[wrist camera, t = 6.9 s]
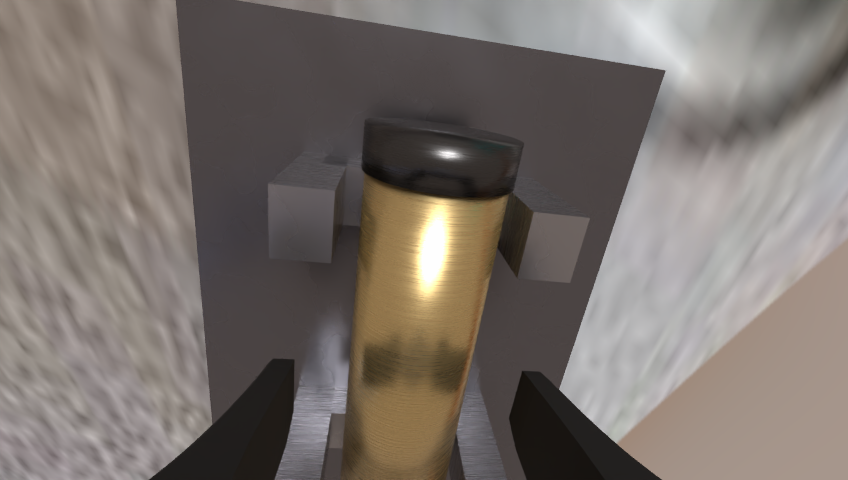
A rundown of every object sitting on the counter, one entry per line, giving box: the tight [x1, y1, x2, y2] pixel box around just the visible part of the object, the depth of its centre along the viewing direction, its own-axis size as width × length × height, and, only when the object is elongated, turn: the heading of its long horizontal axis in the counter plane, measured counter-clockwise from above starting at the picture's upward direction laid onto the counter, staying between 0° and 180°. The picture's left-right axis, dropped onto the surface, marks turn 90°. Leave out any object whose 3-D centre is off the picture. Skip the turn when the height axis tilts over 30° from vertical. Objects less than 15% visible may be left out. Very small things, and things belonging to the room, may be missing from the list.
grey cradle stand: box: [176, 0, 665, 480], centre depth 15 cm, size 21×16×6 cm
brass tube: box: [340, 118, 524, 480], centre depth 13 cm, size 16×4×4 cm, turn 172°
